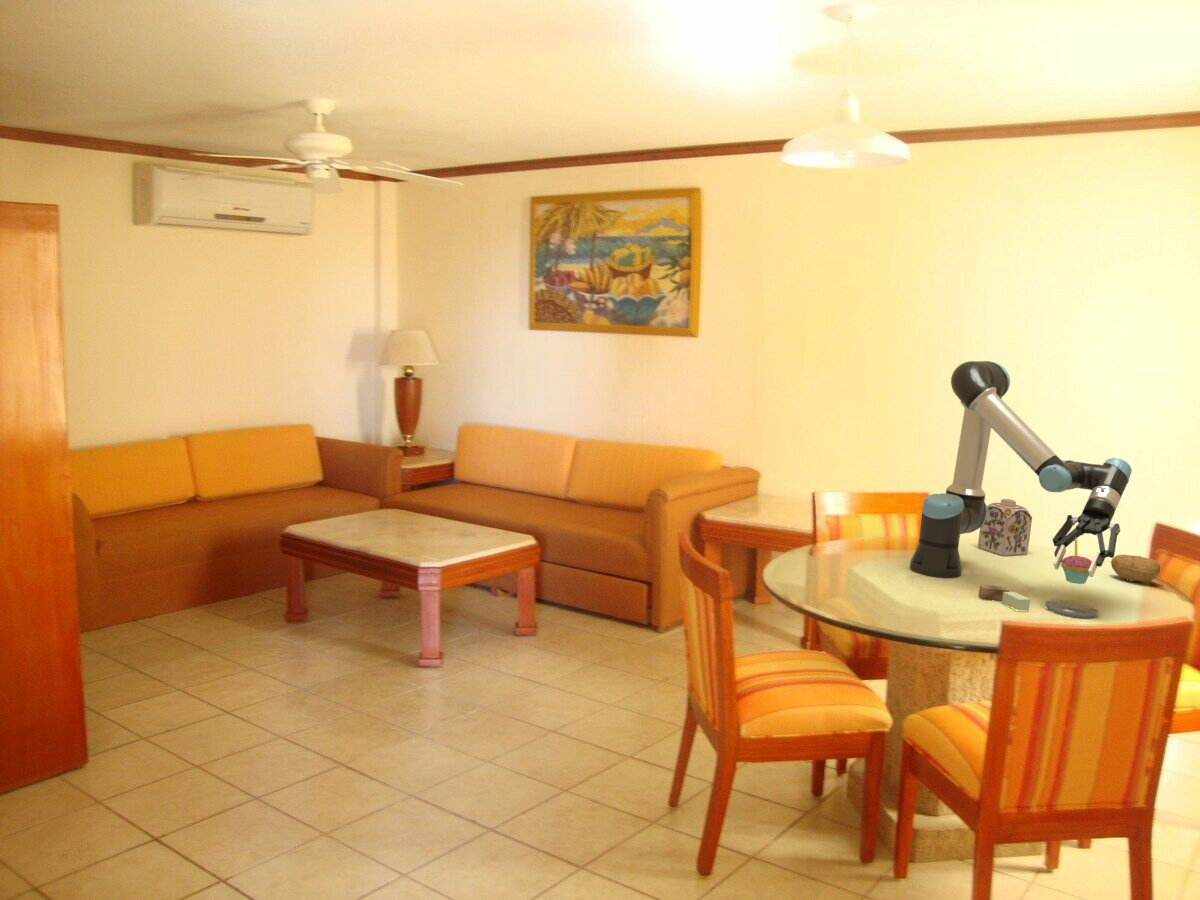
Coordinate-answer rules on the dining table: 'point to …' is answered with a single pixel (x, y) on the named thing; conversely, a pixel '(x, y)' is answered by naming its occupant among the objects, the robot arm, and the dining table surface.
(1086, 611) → the plate
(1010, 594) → the sage brick
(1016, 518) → the decorative jar
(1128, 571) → the potato
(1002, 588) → the walnut brick
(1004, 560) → the dining table surface
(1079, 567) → the cupcake
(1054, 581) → the dining table surface
